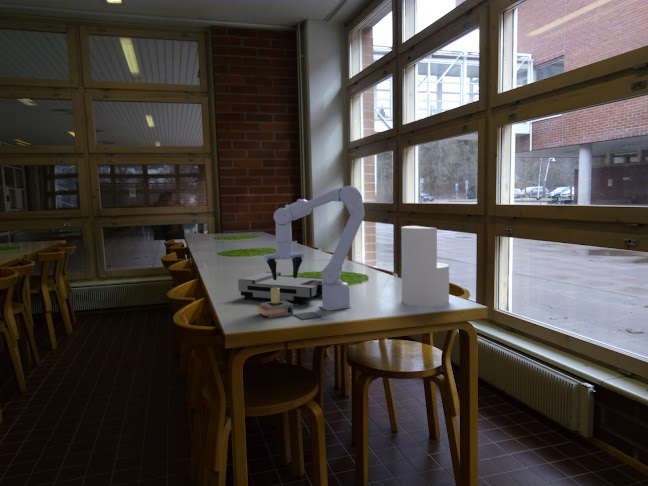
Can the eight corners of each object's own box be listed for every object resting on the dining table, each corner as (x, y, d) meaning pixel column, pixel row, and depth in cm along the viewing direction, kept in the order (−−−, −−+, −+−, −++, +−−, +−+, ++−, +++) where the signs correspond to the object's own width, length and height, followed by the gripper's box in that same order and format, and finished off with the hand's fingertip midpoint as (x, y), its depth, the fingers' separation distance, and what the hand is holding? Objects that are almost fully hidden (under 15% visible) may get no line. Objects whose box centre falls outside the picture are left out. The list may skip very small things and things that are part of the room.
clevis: (284, 309, 163) (284, 299, 163) (293, 314, 156) (293, 304, 156) (256, 313, 159) (256, 303, 158) (264, 318, 152) (264, 308, 151)
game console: (309, 307, 168) (309, 285, 167) (238, 300, 182) (238, 279, 182) (334, 296, 187) (333, 276, 186) (267, 290, 201) (267, 271, 200)
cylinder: (414, 308, 161) (414, 229, 159) (394, 298, 178) (393, 226, 175) (458, 304, 166) (458, 227, 163) (434, 295, 183) (434, 225, 180)
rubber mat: (312, 312, 158) (312, 311, 158) (321, 317, 152) (321, 315, 152) (293, 315, 155) (293, 314, 155) (302, 320, 149) (302, 318, 149)
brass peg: (278, 312, 160) (277, 287, 159) (281, 314, 157) (280, 288, 156) (270, 313, 158) (269, 288, 157) (273, 315, 156) (272, 289, 155)
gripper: (267, 243, 159) (268, 282, 161) (306, 241, 165) (307, 278, 166) (262, 241, 166) (263, 279, 167) (300, 239, 171) (301, 275, 172)
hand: (285, 278), depth 167 cm, fingers open, 7 cm apart
